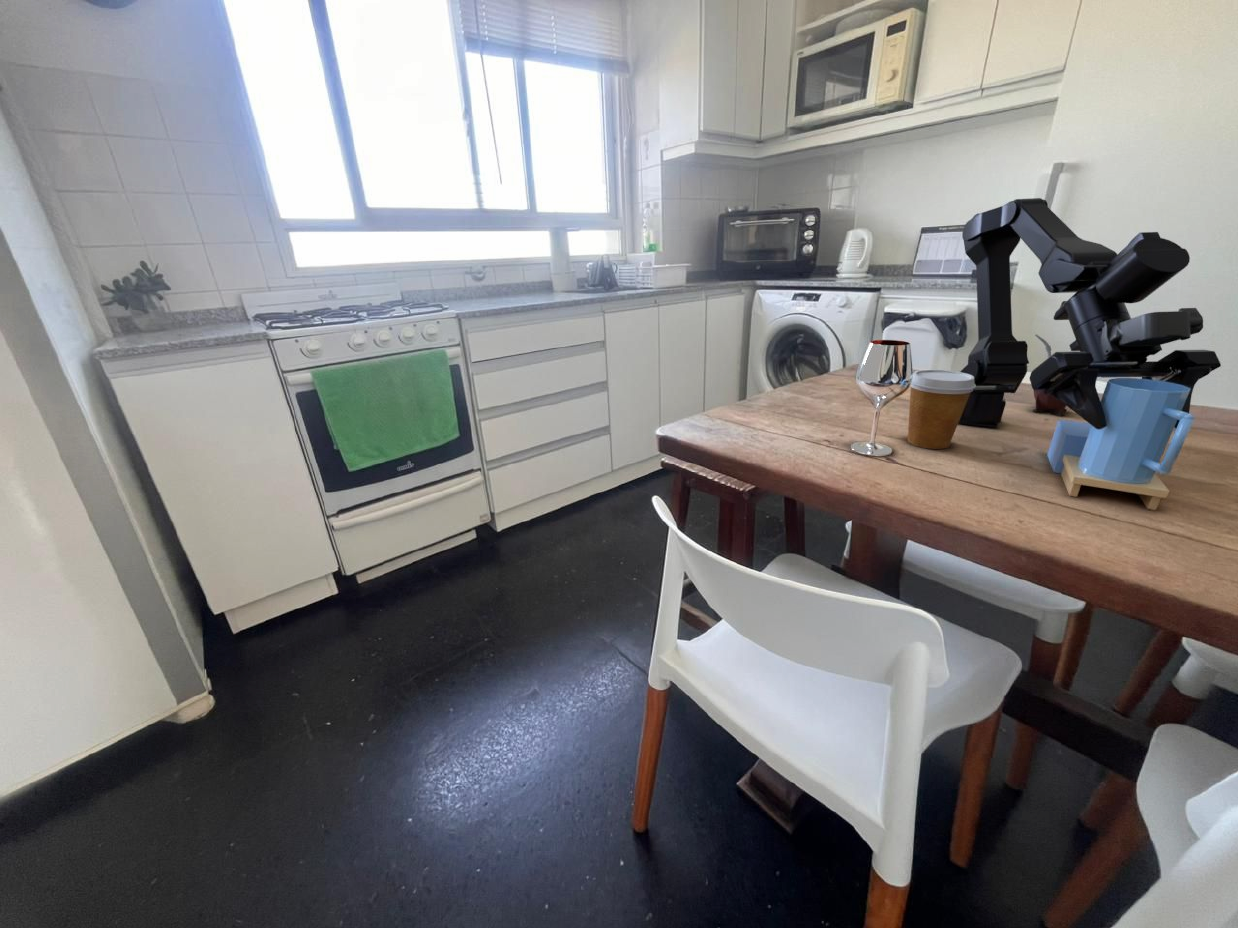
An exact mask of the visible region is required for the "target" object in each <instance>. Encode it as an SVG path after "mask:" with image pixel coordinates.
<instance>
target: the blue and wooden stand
mask: <svg viewBox="0 0 1238 928" xmlns="http://www.w3.org/2000/svg"><path fill="white" fill-rule="evenodd" d="M1091 426H1092V425H1091V424H1089V423H1088V422H1084V421H1075V420H1066V419H1058V420H1057V424H1056V427H1055V430H1054V433H1053V436H1052V439H1051V442H1050V446H1049V448H1048V450H1047V454H1046V455H1047V459H1048V461H1049V463H1050V466H1051V470H1052V472H1053V473H1056V474H1060V476H1061V478H1062V481H1063V483H1064V486H1065V488H1066V491H1067V493H1068V496H1070V497H1075V498H1077V497H1078V495H1079V492H1080V489H1081V487H1082V486H1087V487H1093V488H1099V489H1106V490H1110V491H1111V490H1112V491H1118V492H1123V493H1124V492H1125V493H1130V494H1131V493H1132V494H1136V495H1137V496H1138V497H1139V499H1140V500H1141V502H1142V503H1143V504H1144V506H1145V507H1146V509H1147V510H1152V511H1156V510H1157V509H1158V507H1159V504H1160V503H1161V499H1162V498H1163V499H1167V498H1168V496H1169V494H1170V490H1169V489H1168V487H1167V486H1166V485H1165V484H1164V483H1163V481H1162V480H1161V479H1160V477H1159V476H1158V475H1157V474H1156V473H1155V474H1154V476H1153V478H1152V480H1151V482H1149V483H1145V484H1129V483H1120V482H1114V481H1109V480H1105V479H1101V478H1098V477H1095V476H1092V475H1089V474H1087V473H1085V472H1083V471H1081V470H1080V469H1079V468H1078V464H1079V460H1080V457H1081V454H1082V452H1083V449H1084V446H1085V443H1086V440H1087V438H1088V435H1089V432H1090V429H1091Z"/></svg>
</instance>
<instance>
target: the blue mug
mask: <svg viewBox="0 0 1238 928" xmlns="http://www.w3.org/2000/svg"><path fill="white" fill-rule="evenodd" d="M1190 390H1191V388H1189V387H1187V386H1184V385H1180V384H1176V383H1171V382H1165V381H1159V380H1150V379H1142V378H1139V377H1114V378H1109V380H1107V382H1106V385H1105V387H1104V390H1103V393H1102V396H1101V399H1100V402H1101V405H1102V408H1103V411H1104V414H1105V418H1106V424H1107V426H1106V427H1105V428H1103V429H1096V428H1095V427H1093V426H1091V429H1090V432H1089V435H1088V438H1087V440H1086V443H1085V446H1084V449H1083V452H1082V454H1081V457H1080V460H1079V464H1078V468H1079V469H1080V470H1081V471H1083V472H1085V473H1087V474H1089V475H1092V476H1095V477H1098V478H1101V479H1105V480H1109V481H1114V482H1120V483H1129V484H1145V483H1149V482H1151V480H1152V478H1153V476H1154V474H1156V473H1158V474H1161V475H1165V476H1166V475H1169V474H1170V473H1171V472H1172V470H1173V468H1174V465H1175V463H1176V462H1177V461H1176V460H1177V458H1178V456H1179V455H1180V452H1181V449H1182V447H1183V445H1184V443H1185V440H1186V438H1187V436H1188V434H1189V431H1190V430H1191V427H1192V425H1193V422H1194V421H1195V415H1193V414H1192V413H1190V412H1189V413H1186V412H1183V411H1182V408H1183V406H1184V404H1185V401H1186V399H1187V397H1188V394H1189V392H1190ZM1177 420H1180V421H1179V424H1178V426H1177V428H1175V425H1176V422H1177ZM1174 429H1175V431H1174ZM1173 431H1174V433H1173ZM1172 434H1173V435H1172ZM1171 436H1172V437H1171ZM1170 438H1171V440H1170ZM1169 441H1170V442H1169ZM1168 443H1169V444H1168ZM1167 445H1168V447H1167ZM1166 448H1167V450H1166ZM1165 450H1166V452H1165ZM1164 452H1165V454H1164ZM1163 454H1164V456H1163ZM1162 457H1163V459H1162ZM1161 460H1162V461H1161Z"/></svg>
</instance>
